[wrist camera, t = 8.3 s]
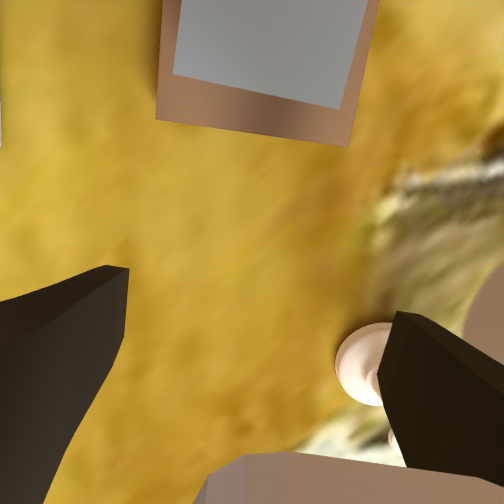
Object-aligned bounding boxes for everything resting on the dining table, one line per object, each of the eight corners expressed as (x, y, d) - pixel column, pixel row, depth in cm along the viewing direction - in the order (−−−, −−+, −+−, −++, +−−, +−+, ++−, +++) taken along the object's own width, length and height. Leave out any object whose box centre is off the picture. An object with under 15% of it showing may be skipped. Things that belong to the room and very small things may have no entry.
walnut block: (167, 115, 21) (155, 119, 18) (181, -93, 18) (170, -119, 16) (338, 140, 21) (348, 147, 19) (378, -61, 18) (396, -82, 16)
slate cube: (195, 74, 18) (172, 74, 13) (217, -75, 16) (199, -137, 11) (319, 100, 18) (339, 109, 13) (354, -43, 16) (391, -91, 12)
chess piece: (404, 306, 23) (503, 455, 14) (439, 376, 25) (549, 553, 16) (319, 346, 24) (359, 511, 15) (357, 411, 26) (415, 599, 16)
